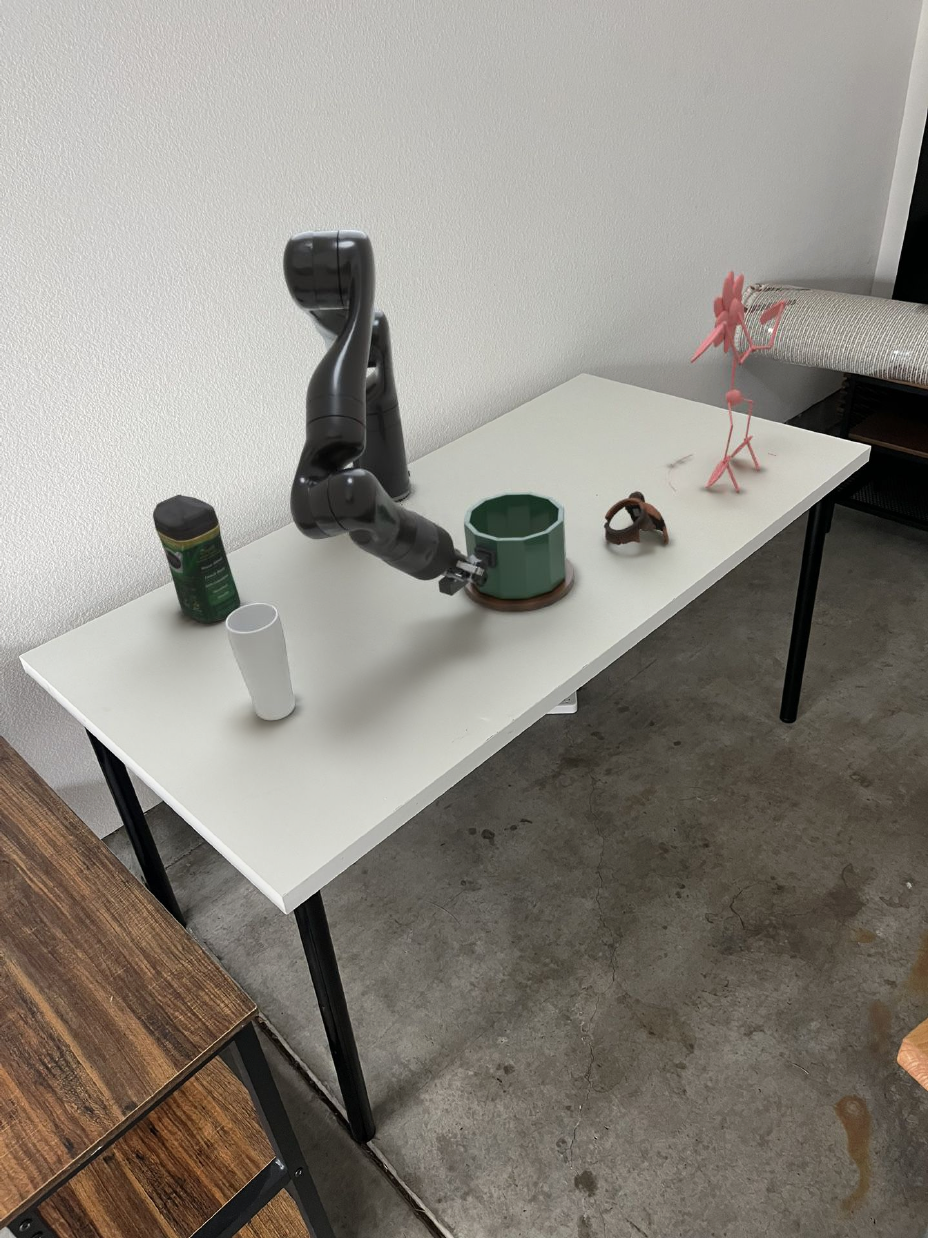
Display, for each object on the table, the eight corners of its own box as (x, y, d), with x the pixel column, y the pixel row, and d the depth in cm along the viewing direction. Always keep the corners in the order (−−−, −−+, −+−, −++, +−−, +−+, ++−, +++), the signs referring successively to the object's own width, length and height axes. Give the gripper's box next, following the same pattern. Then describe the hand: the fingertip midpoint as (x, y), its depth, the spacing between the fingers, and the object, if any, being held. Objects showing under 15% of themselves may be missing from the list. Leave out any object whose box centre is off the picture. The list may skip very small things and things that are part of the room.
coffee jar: (250, 607, 149) (222, 501, 138) (207, 631, 144) (174, 523, 134) (216, 587, 155) (186, 484, 144) (174, 609, 150) (140, 505, 140)
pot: (506, 539, 155) (501, 484, 150) (583, 561, 148) (582, 504, 142) (410, 615, 140) (401, 557, 134) (491, 644, 132) (485, 584, 126)
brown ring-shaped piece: (675, 555, 150) (653, 523, 145) (621, 576, 154) (597, 545, 149) (668, 503, 158) (647, 470, 153) (616, 524, 162) (594, 493, 157)
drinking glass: (253, 696, 130) (227, 605, 122) (302, 690, 130) (280, 599, 122) (248, 729, 125) (221, 636, 116) (300, 722, 125) (276, 629, 116)
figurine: (781, 451, 175) (802, 254, 155) (723, 513, 159) (739, 301, 139) (703, 437, 183) (713, 247, 163) (640, 494, 167) (643, 291, 147)
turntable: (460, 614, 142) (460, 607, 141) (467, 554, 156) (466, 548, 155) (576, 609, 140) (575, 602, 139) (572, 549, 154) (572, 542, 153)
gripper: (466, 529, 119) (524, 565, 134) (381, 505, 127) (446, 542, 141) (445, 585, 119) (506, 615, 134) (361, 558, 126) (428, 589, 141)
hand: (475, 577), depth 138 cm, fingers closed on pot, 2 cm apart
